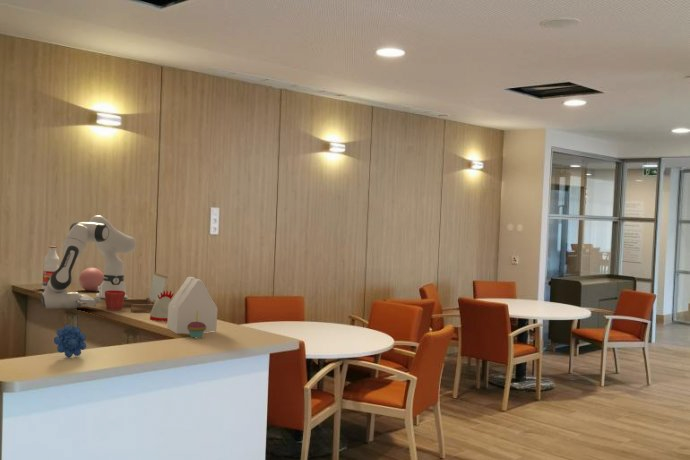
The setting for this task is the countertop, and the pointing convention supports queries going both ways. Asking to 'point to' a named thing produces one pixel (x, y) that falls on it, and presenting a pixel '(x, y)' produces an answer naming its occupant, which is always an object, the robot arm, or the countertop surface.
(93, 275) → the pink egg shape
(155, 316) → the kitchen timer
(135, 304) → the cold frame
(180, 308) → the white house-shaped block
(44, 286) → the fruit juice
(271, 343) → the countertop surface
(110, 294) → the flower pot
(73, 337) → the blue flower
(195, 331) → the cupcake
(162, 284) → the frame lid
